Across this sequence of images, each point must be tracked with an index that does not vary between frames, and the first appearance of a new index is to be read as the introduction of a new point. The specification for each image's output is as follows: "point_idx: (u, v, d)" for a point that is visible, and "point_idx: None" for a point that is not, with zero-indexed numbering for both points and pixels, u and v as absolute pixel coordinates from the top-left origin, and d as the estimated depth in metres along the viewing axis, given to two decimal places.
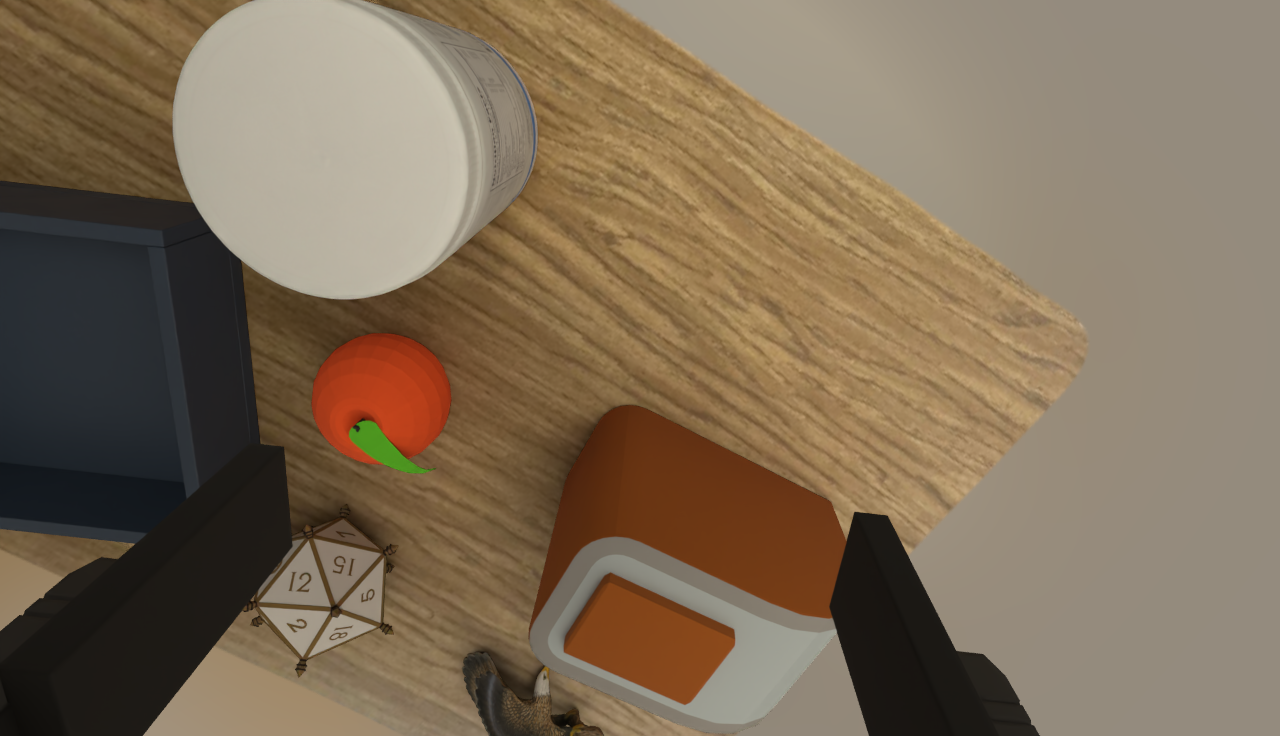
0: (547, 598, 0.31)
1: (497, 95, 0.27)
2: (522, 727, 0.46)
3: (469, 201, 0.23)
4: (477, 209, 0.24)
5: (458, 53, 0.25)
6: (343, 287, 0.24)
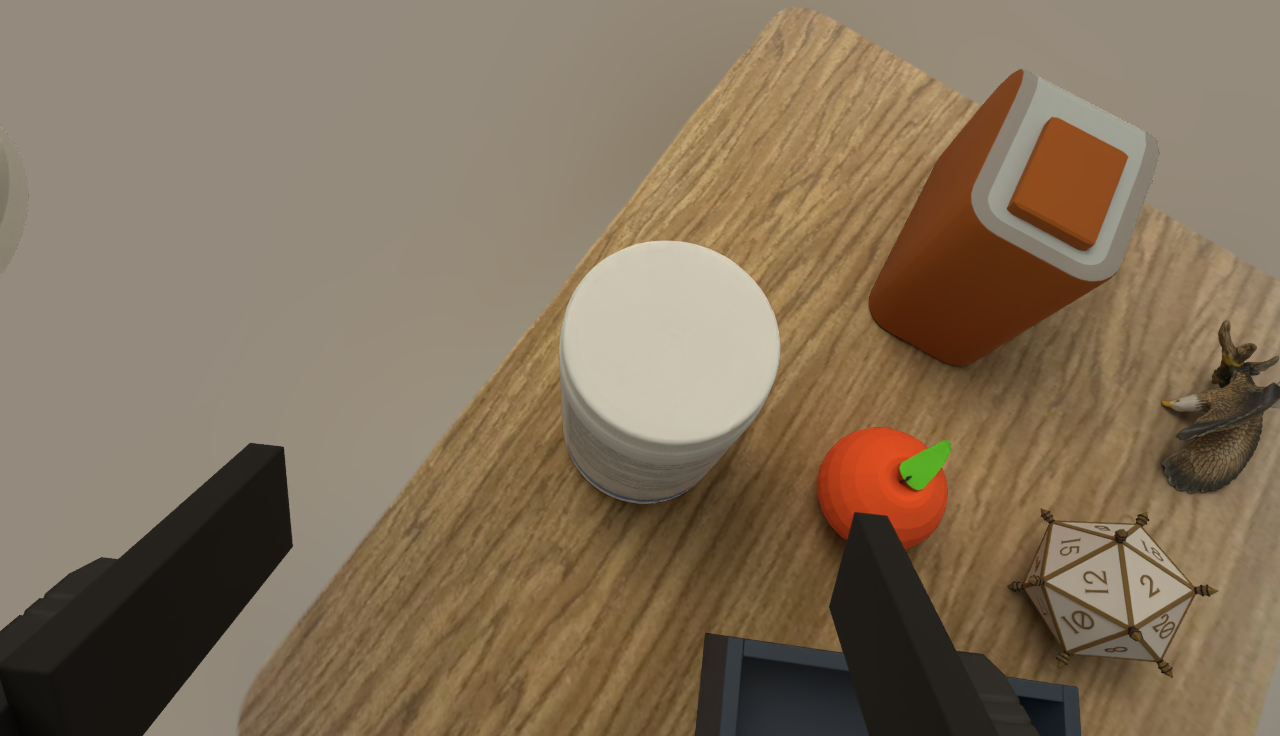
0: (1042, 262, 0.35)
1: None
2: (1239, 406, 0.43)
3: None
4: None
5: None
6: (770, 339, 0.30)
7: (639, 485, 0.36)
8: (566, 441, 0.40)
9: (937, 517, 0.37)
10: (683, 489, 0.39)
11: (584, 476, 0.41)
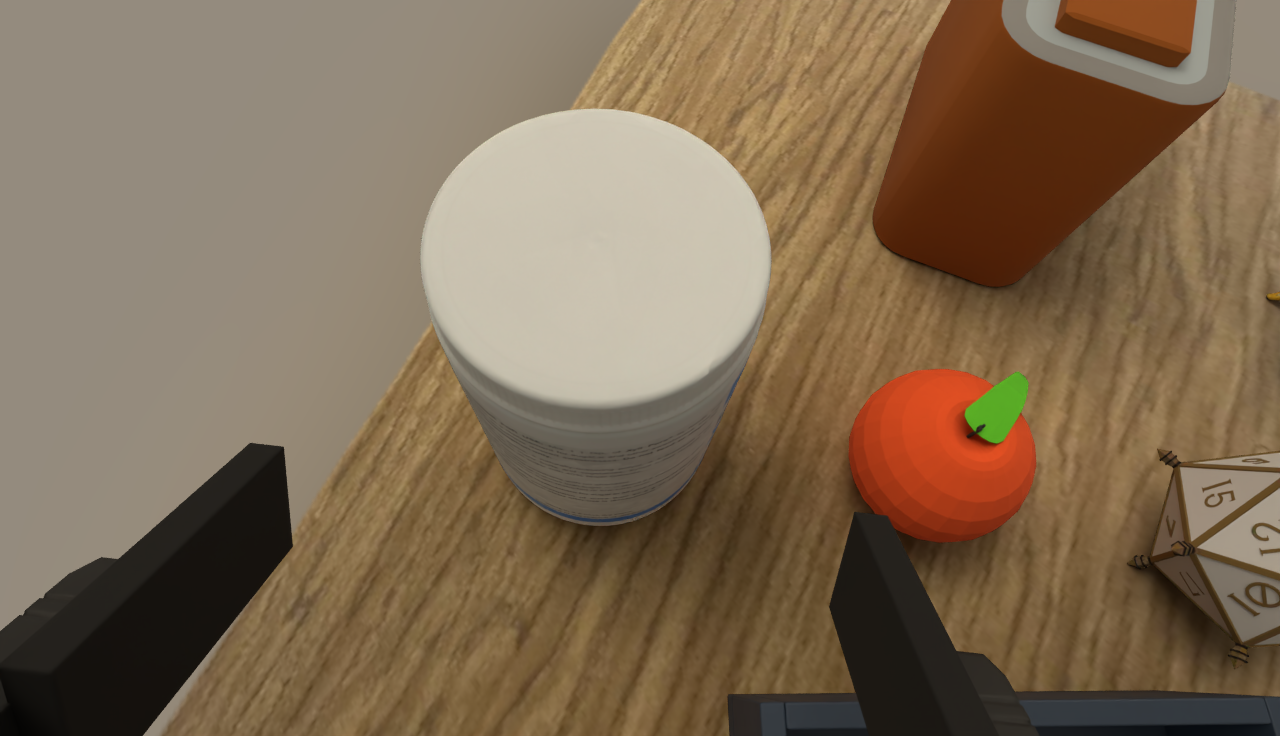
0: (1121, 89, 0.24)
1: None
2: None
3: None
4: None
5: None
6: (752, 227, 0.19)
7: (597, 495, 0.24)
8: None
9: (1028, 479, 0.26)
10: (665, 495, 0.27)
11: None
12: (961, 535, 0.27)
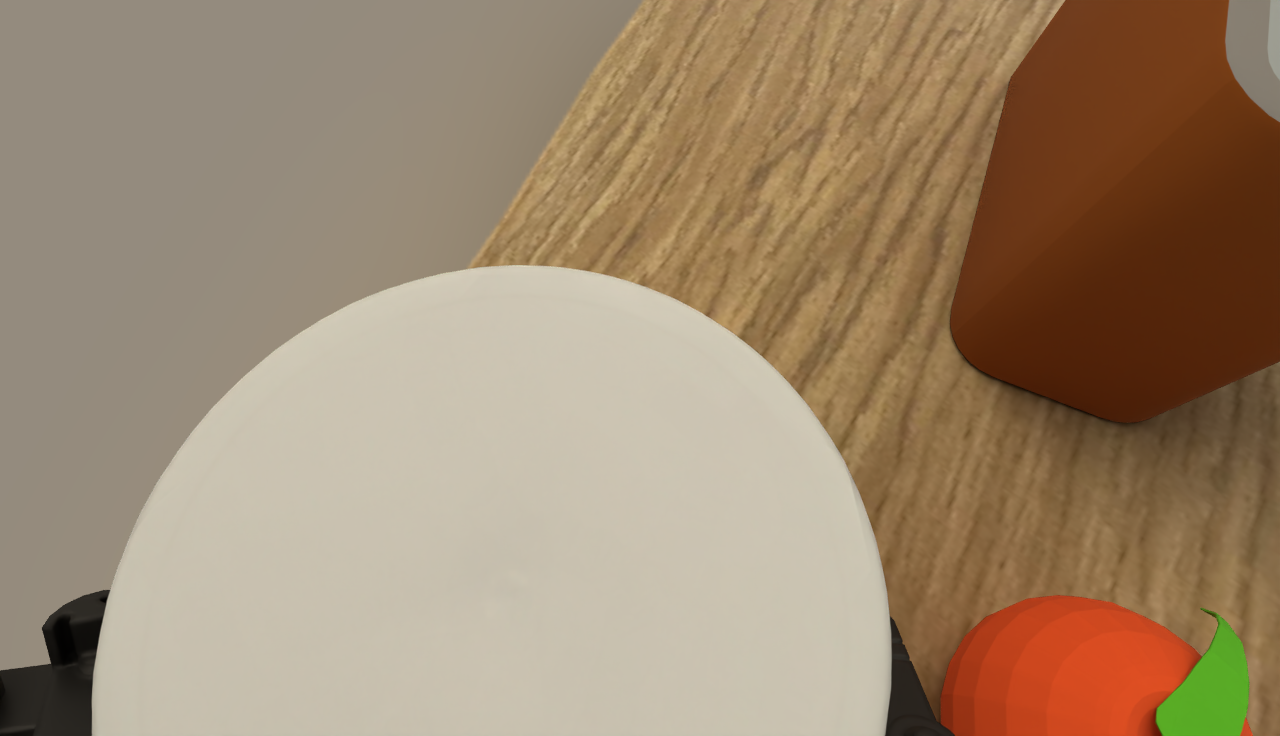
0: None
1: None
2: None
3: None
4: None
5: None
6: (848, 551, 0.09)
7: None
8: None
9: None
10: None
11: None
12: None
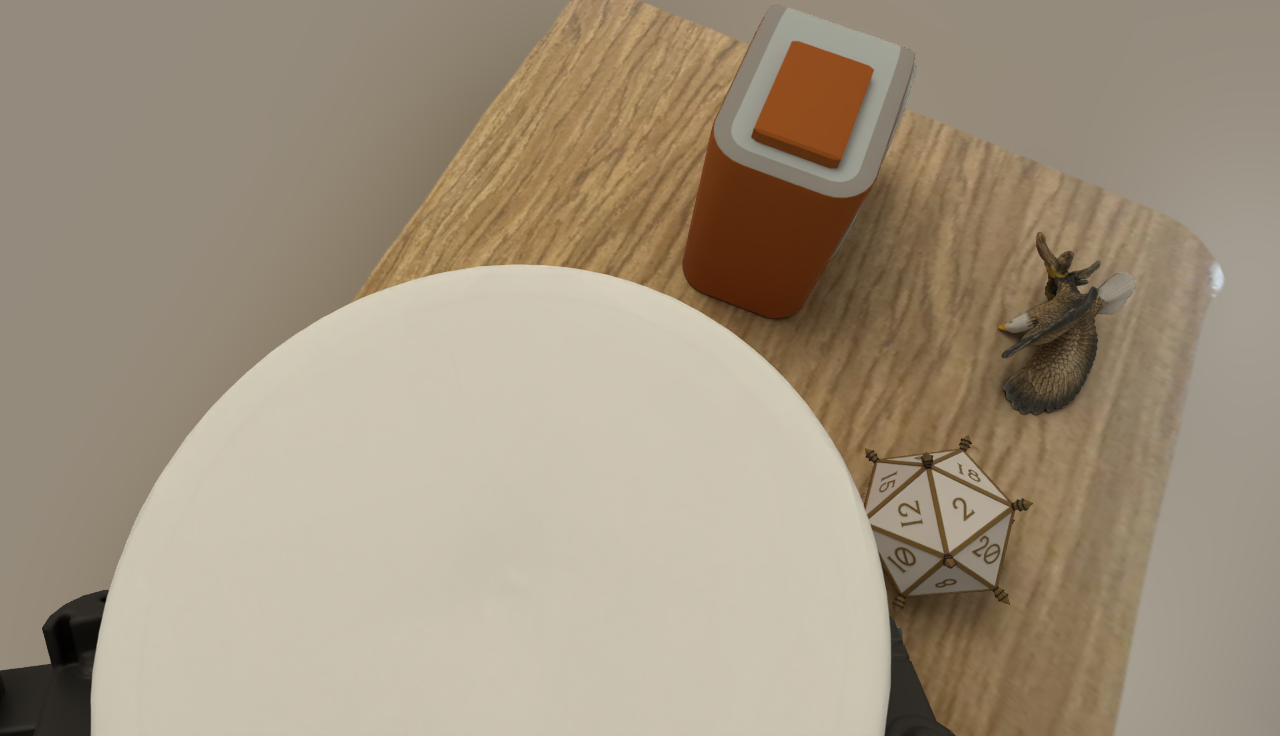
0: (792, 185, 0.33)
1: None
2: None
3: None
4: None
5: None
6: (847, 551, 0.09)
7: None
8: None
9: None
10: None
11: None
12: None
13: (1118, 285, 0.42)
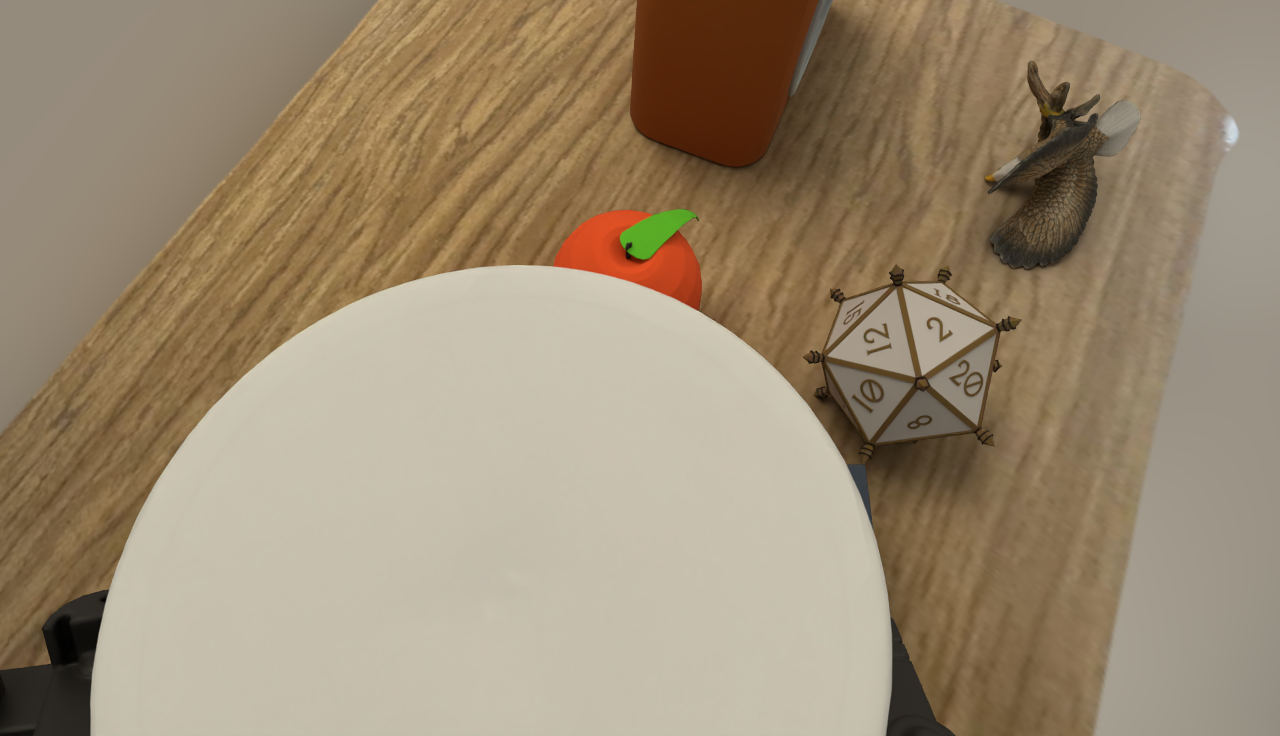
0: None
1: None
2: None
3: None
4: None
5: None
6: (847, 552, 0.09)
7: None
8: None
9: (680, 295, 0.30)
10: None
11: None
12: None
13: (1120, 116, 0.37)
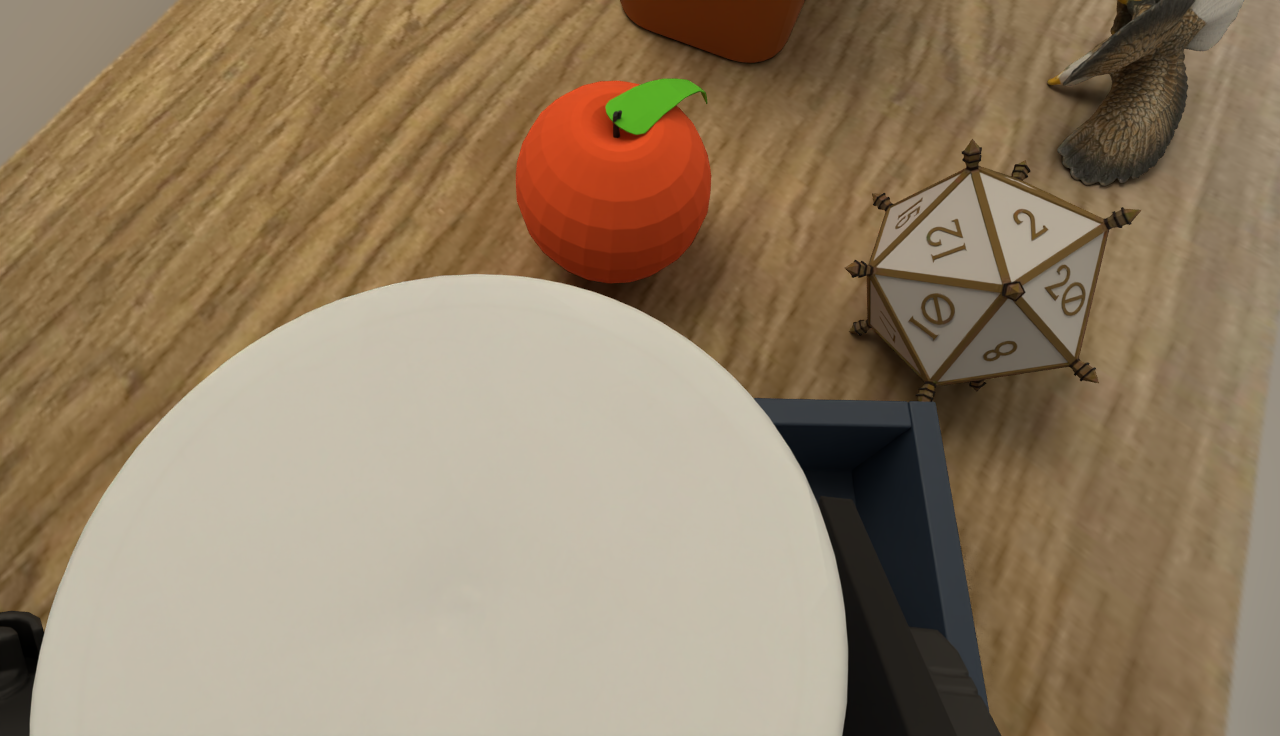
0: None
1: None
2: None
3: None
4: None
5: None
6: (805, 566, 0.09)
7: None
8: None
9: (684, 186, 0.23)
10: None
11: None
12: (612, 254, 0.23)
13: None
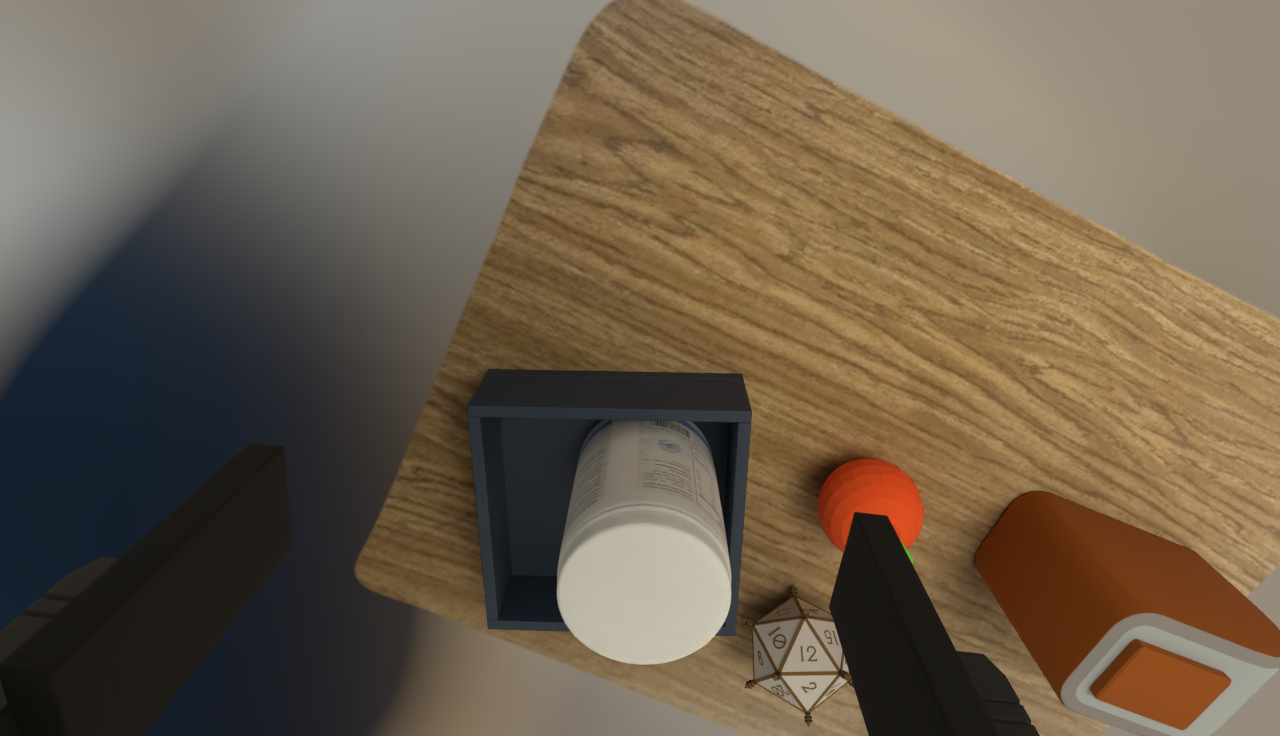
0: (1081, 659, 0.42)
1: (716, 499, 0.42)
2: None
3: None
4: None
5: (701, 497, 0.40)
6: (653, 659, 0.39)
7: None
8: (613, 423, 0.47)
9: None
10: None
11: (592, 431, 0.49)
12: (823, 514, 0.48)
13: None
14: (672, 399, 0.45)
